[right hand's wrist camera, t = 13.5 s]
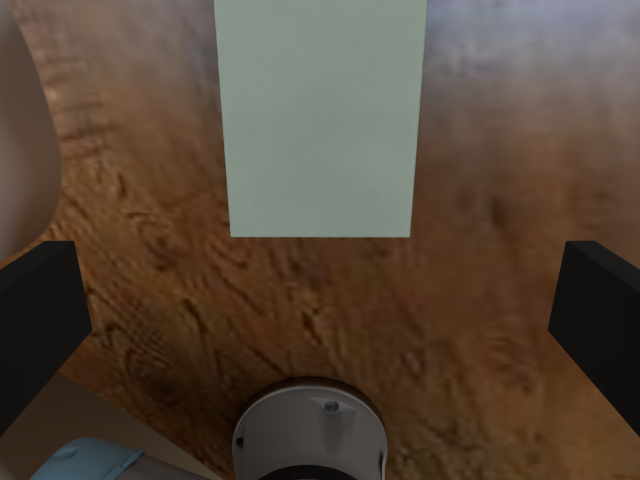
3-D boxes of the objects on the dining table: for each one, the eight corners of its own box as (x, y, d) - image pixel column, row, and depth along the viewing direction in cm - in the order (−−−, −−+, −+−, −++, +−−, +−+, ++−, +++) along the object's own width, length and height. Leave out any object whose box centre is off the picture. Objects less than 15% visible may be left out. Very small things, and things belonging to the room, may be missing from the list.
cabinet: (244, -75, 31) (201, -156, 19) (396, -75, 31) (440, -155, 19) (257, 185, 37) (230, 237, 26) (382, 185, 37) (409, 237, 26)
